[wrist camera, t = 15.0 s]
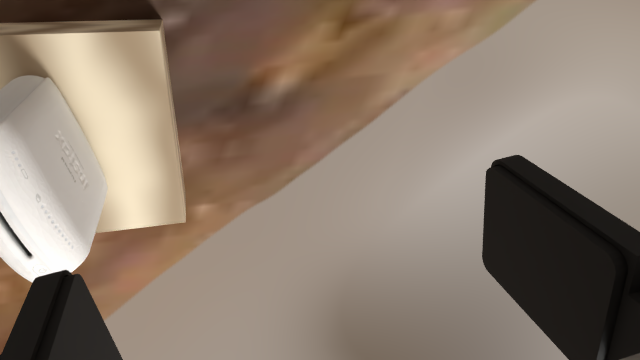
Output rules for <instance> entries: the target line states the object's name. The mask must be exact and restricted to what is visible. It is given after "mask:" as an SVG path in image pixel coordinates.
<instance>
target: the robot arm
mask: <svg viewBox="0 0 640 360" xmlns="http://www.w3.org/2000/svg"><path fill="white" fill-rule="evenodd" d="M485 184H486V185H485V207H484V230H483V252H482V258H483V263H484V265H485V267H486V269H487V270H488V272H489V273H490V274H491V275H492V276H493V277H494V278H495V279H496V281H497V282H498V283H499V284H500V285H501V286H502V287H503V288H504V289H505V290H506V292H507V293H508V294H509V295H510V296H511V297H512V298H513V299H514V300H515V301H516V302H517V303H518V305H519V306H520V307H521V308H522V309H523V310H524V311H525V312H526V313H527V314H528V315H529V317H530V318H531V319H532V320H533V321H534V322H535V323H536V324H537V325H538V326H539V327H540V329H541V330H542V331H543V332H544V333H545V334H546V335H547V336H548V337H549V338H550V339H551V341H552V342H553V343H554V344H555V345H556V346H557V347H558V348H559V349H560V350H561V352H562V353H563V354H564V355H565V356H566V357H567V358H568V359H569V360H640V232H639V231H637V230H636V229H634V228H633V227H631V226H629V225H628V224H626V223H625V222H623V221H621V220H620V219H618V218H617V217H615V216H614V215H612V214H611V213H609V212H608V211H606V210H605V209H603V208H602V207H600V206H598V205H597V204H595V203H594V202H592V201H591V200H589V199H588V198H586V197H584V196H583V195H581V194H580V193H578V192H577V191H575V190H574V189H572V188H570V187H569V186H567V185H566V184H564V183H563V182H561V181H560V180H558V179H556V178H555V177H553V176H552V175H550V174H549V173H547V172H546V171H544V170H542V169H541V168H539V167H538V166H536V165H535V164H533V163H531V162H530V161H528V160H527V159H525V158H524V157H522V156H520V155H514V156H510V157H506V158H502V159H498V160H495V161H494V162H493V163H492V165H491V168H489V169H488V170H487V171H486V183H485ZM0 360H123V359H122V357H121V355H120V353H119V351H118V349H117V347H116V345H115V343H114V341H113V339H112V337H111V335H110V333H109V331H108V329H107V327H106V325H105V323H104V321H103V319H102V316H101V314H100V312H99V310H98V308H97V306H96V304H95V302H94V300H93V298H92V296H91V294H90V292H89V290H88V288H87V286H86V284H85V282H84V280H83V278H82V277H81V275H80V274H74V275H72V274H71V273H70V272H69V271H68V270H62V271H58V272H54V273H50V274H46V275H43V276H39V277H36V278H35V279H34V281H33V283H32V285H31V288H30V290H29V292H28V294H27V297H26V299H25V301H24V304H23V306H22V308H21V311H20V313H19V315H18V317H17V320H16V322H15V324H14V327H13V329H12V331H11V334H10V336H9V338H8V341H7V343H6V345H5V347H4V350H3V352H2V354H1V355H0Z"/></svg>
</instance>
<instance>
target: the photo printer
mask: <svg viewBox="0 0 640 360" xmlns="http://www.w3.org/2000/svg"><path fill="white" fill-rule="evenodd" d="M107 189H108V188H107V183H106V179H105V176H104V173H103V171H102V169H101V167H100V165H99V163H98V161H97V159H96V157H95V154H94V152H93V150H92V148H91V146H90V144H89V143H88V141H87V139H86V137H85V135H84V133H83V131H82V129H81V127H80V126H79V124H78V122H77V120H76V118H75V117H74V115H73V113H72V111H71V110H70V108H69V106H68V104H67V103H66V101H65V99H64V98H63V96H62V94H61V93H60V91H59V90H58V88H57V87H56V85H55V84H54V83H53V82H52V80H51V79H50V78H48V77H47V78H43V77H39V76H34V75H26V76H20V77H18V78H15V79H13V80H12V81H10V82H9V83H8V84H7V85H5V86H4V87H3V88H2V89H0V257H1V258H2V259H3V260H4V261H5V262H6V263H7V264H8V265H9V266H10V267H11V268H12V269H13V270H15V271H16V272H17V273H18V274H20V275H21V276H23V277H24V278H26V279H27V280H29V281H31V282H32V283H33V281H34V279H35V278H36V277H39V276H43V275H46V274H50V273H54V272H58V271H62V270H68V271H69V272H70V273H71V272H72V271H74V270H75V269H76V268H77V267H78V266H79V265H80V264H81V263H82V262H83V261H84V260H85V258H86V257H87V256H88V254H89V251H90V248H91V244H92V241H93V238H94V235H95V232H96V228H97V225H98V222H99V218H100V215H101V212H102V208H103V205H104V202H105V198H106V194H107Z"/></svg>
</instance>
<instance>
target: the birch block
mask: <svg viewBox="0 0 640 360" xmlns="http://www.w3.org/2000/svg"><path fill="white" fill-rule="evenodd" d="M26 75H34V76H39V77H43V78H47V77H48V78H50V79H51V80H52V82H53V83H54V84H55V85H56V87H57V88H58V90H59V91H60V93H61V94H62V96H63V98H64V99H65V101H66V103H67V104H68V106H69V108H70V110H71V111H72V113H73V115H74V117H75V118H76V120H77V122H78V124H79V126H80V127H81V129H82V131H83V133H84V135H85V137H86V139H87V141H88V143H89V144H90V146H91V148H92V150H93V152H94V154H95V157H96V159H97V161H98V163H99V165H100V167H101V169H102V171H103V173H104V176H105V179H106V183H107V188H108V189H107V194H106V198H105V202H104V205H103V208H102V212H101V215H100V218H99V222H98V225H97V228H96V232H95V233H100V232H108V231H117V230H125V229H133V228H142V227H150V226H158V225H166V224H175V223H183V222H186V204H185V186H184V179H183V171H182V164H181V156H180V149H179V141H178V134H177V126H176V119H175V111H174V104H173V96H172V89H171V81H170V73H169V66H168V58H167V51H166V43H165V36H164V28H163V21H162V19H152V20H110V21H67V22H24V23H0V89H2V88H3V87H4V86H5V85H7V84H8V83H9V82H10V81H12V80H13V79H15V78H18V77H20V76H26Z"/></svg>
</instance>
